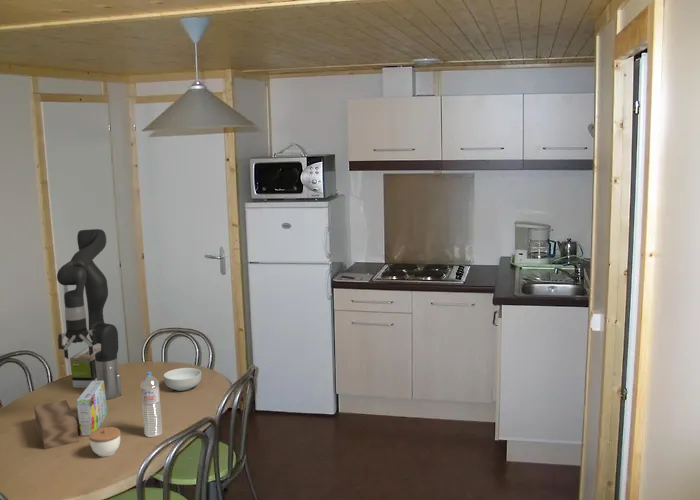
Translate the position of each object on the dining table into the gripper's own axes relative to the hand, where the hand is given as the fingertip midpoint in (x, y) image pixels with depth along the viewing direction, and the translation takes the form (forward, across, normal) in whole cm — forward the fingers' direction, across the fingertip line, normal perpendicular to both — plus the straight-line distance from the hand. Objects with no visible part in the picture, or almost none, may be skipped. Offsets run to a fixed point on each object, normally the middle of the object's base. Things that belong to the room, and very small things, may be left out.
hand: (78, 356), depth 275 cm
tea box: (+28, -6, -52) cm, 59 cm away
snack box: (+29, -3, +2) cm, 29 cm away
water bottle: (+29, -24, +22) cm, 43 cm away
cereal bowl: (+28, -44, -23) cm, 57 cm away
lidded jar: (+29, -5, +31) cm, 43 cm away
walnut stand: (+28, +10, +4) cm, 31 cm away
